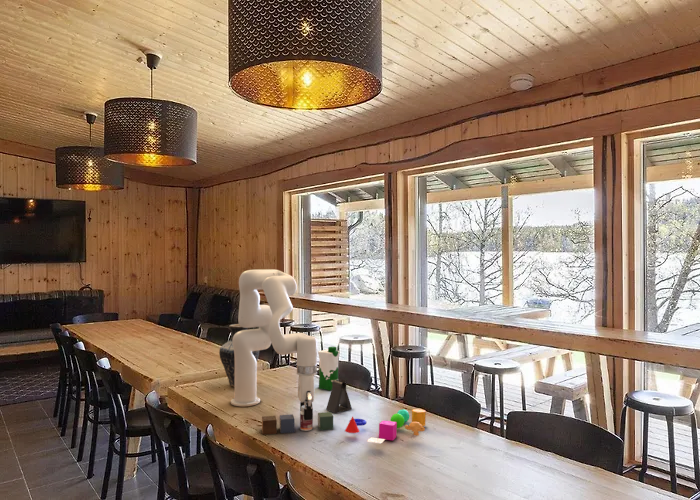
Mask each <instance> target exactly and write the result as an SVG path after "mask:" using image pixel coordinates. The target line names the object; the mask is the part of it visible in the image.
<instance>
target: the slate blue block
mask: <svg viewBox="0 0 700 500" xmlns="http://www.w3.org/2000/svg"><path fill="white" fill-rule="evenodd" d="M295 419H296V418H295V416H294V414H293V413H292V414H279V433H280V434H289V433H295V426H296V425H295V423H296V422H295Z"/></svg>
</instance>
